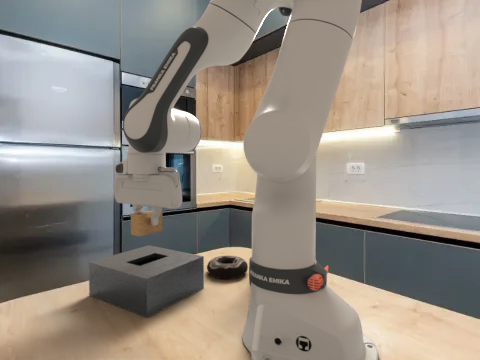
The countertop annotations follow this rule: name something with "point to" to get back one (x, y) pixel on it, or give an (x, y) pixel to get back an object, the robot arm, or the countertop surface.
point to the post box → (146, 278)
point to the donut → (227, 267)
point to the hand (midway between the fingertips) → (147, 224)
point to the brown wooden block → (144, 223)
